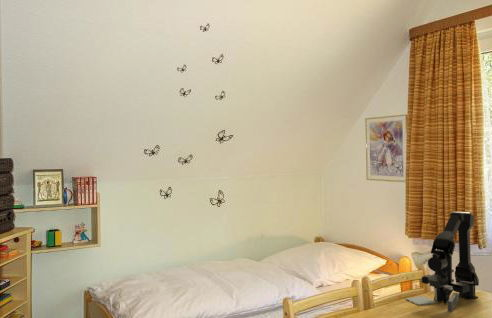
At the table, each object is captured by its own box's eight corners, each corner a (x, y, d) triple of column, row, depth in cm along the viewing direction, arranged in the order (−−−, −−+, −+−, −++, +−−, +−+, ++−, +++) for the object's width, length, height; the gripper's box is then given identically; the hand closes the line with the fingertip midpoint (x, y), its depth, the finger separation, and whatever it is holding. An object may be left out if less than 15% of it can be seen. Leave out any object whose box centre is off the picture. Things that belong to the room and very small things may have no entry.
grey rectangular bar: (453, 301, 188) (453, 292, 188) (458, 302, 187) (458, 293, 187) (446, 310, 176) (446, 301, 176) (452, 311, 175) (452, 302, 175)
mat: (423, 297, 195) (423, 296, 195) (437, 303, 186) (437, 301, 186) (405, 299, 192) (405, 298, 192) (419, 305, 183) (419, 304, 183)
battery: (444, 298, 193) (443, 273, 194) (450, 300, 190) (449, 275, 190) (431, 299, 191) (430, 274, 192) (437, 302, 188) (436, 276, 188)
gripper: (413, 265, 181) (413, 301, 181) (454, 274, 165) (455, 314, 165) (428, 261, 187) (429, 296, 187) (470, 270, 171) (470, 308, 171)
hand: (444, 303), depth 177 cm, fingers closed
